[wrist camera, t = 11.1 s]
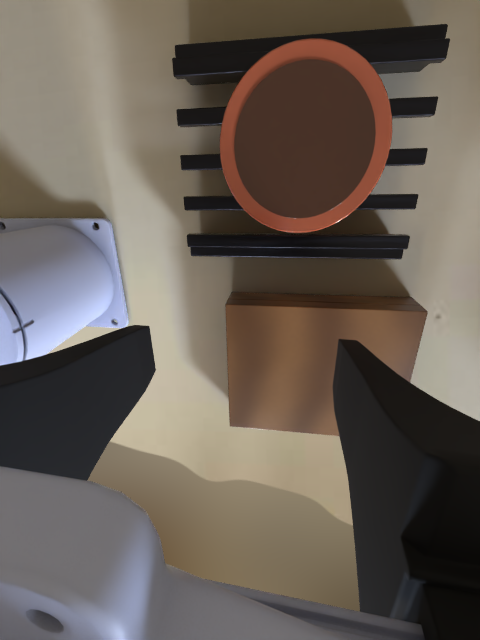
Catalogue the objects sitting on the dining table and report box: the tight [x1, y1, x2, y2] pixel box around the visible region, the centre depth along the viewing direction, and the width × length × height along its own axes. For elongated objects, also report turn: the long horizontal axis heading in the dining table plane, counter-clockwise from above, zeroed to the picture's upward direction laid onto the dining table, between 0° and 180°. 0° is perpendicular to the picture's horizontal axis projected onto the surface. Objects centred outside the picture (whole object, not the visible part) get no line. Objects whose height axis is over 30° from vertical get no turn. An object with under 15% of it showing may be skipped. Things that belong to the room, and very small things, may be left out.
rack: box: [172, 24, 450, 259], centre depth 17 cm, size 12×10×3 cm
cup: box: [220, 39, 392, 233], centre depth 13 cm, size 5×5×6 cm
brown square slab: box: [225, 292, 427, 436], centre depth 22 cm, size 12×10×2 cm
